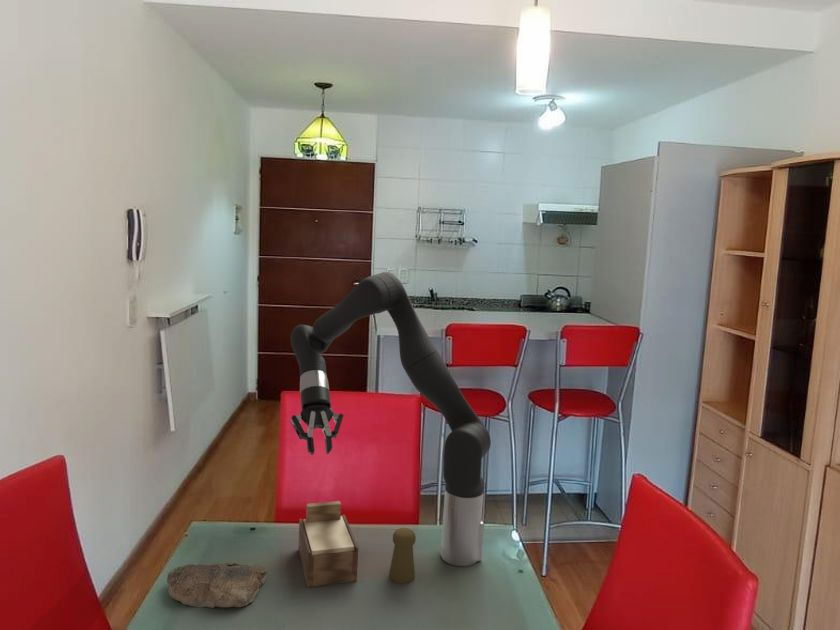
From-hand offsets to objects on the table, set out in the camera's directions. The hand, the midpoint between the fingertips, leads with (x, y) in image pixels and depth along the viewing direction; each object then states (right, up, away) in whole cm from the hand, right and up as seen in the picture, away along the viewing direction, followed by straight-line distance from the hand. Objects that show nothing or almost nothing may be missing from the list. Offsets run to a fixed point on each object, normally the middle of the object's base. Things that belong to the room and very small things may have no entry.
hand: (320, 452), depth 159 cm
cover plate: (+3, -17, -11) cm, 20 cm away
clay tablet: (-20, -25, -22) cm, 39 cm away
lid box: (+3, -24, -10) cm, 26 cm away
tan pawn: (+21, -26, -12) cm, 35 cm away
